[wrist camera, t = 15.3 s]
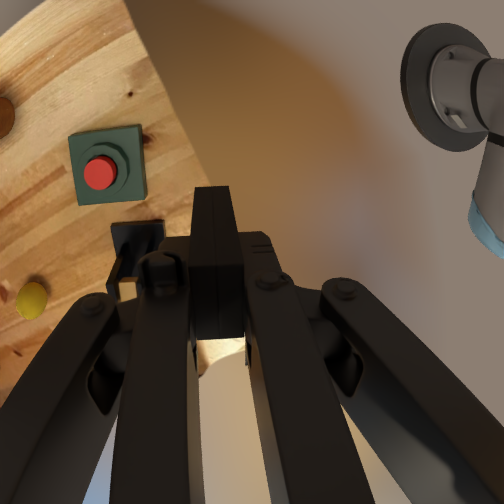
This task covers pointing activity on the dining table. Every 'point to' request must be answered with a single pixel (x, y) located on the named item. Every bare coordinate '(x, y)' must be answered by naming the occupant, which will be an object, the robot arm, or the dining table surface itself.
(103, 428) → the robot arm
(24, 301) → the lemon
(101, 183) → the button
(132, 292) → the switch lever
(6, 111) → the disposable coffee cup
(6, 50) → the dining table surface
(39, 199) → the dining table surface
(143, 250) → the switch bracket
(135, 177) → the button housing
